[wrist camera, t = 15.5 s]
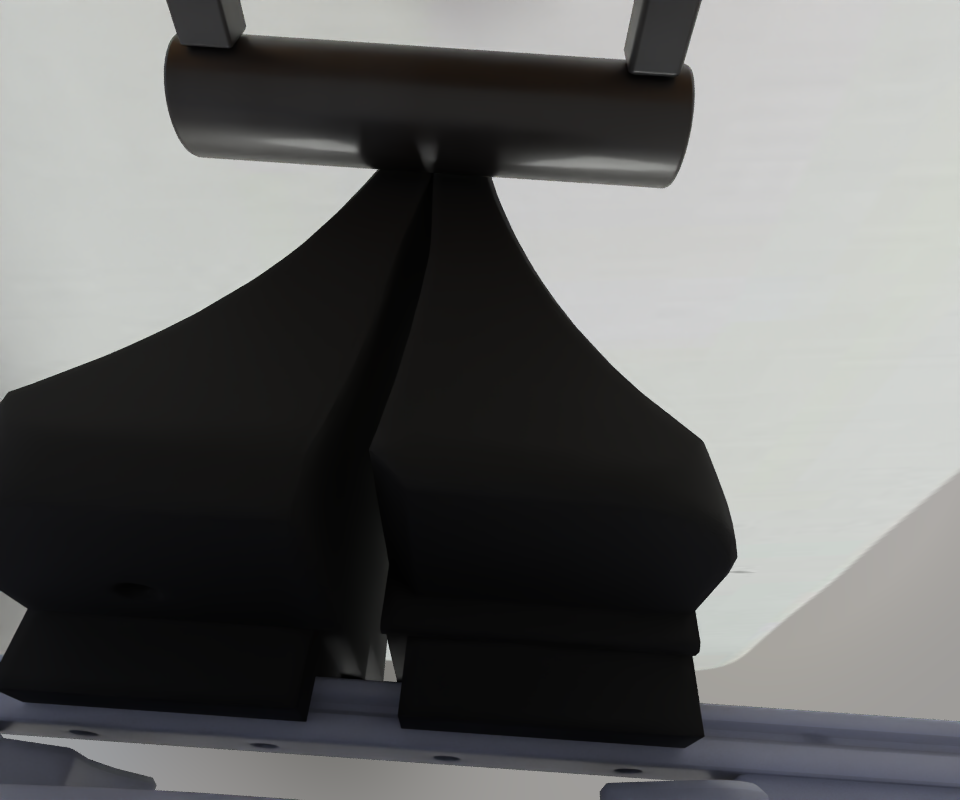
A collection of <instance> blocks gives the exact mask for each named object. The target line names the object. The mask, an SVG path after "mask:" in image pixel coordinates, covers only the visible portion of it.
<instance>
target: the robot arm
mask: <svg viewBox="0 0 960 800" xmlns="http://www.w3.org/2000/svg"><path fill="white" fill-rule="evenodd" d="M736 559H737V549H736V539H735V534H734V529H733V523H732V519H731V516H730V512H729V508H728V505H727V501H726V499H725V496H724V493H723V490H722V488H721V485H720V482H719V479H718V477H717V474H716V472H715V469H714V467H713V464H712V461H711V459H710V456H709V454H708V451H707V449H706V447H705V444H704V442H703V441H702V440H701V439H700V438H699V437H697V436H696V435H695V434H694V433H692V432H691V431H690V430H688V429H687V428H686V427H685V426H683V425H682V424H681V423H680V422H678V421H677V420H676V419H674V418H673V417H672V416H671V415H669V414H668V413H667V412H665V411H664V410H663V409H662V408H660V407H659V406H658V405H657V404H655V403H654V402H653V401H651V400H650V399H649V398H648V397H646V396H645V395H644V394H643V393H641V392H640V391H639V390H638V389H637V388H636V387H635V386H633V385H632V384H631V383H630V382H629V381H628V380H627V379H626V378H625V377H624V376H623V375H621V374H620V373H619V372H618V371H617V370H616V369H615V368H614V367H613V366H612V365H611V364H610V363H609V362H608V361H607V360H606V359H605V358H604V357H603V356H602V354H601V353H600V352H599V351H598V350H597V349H596V348H595V347H594V346H593V345H592V344H591V343H590V342H589V340H588V339H587V338H586V337H585V336H584V335H583V334H582V333H581V332H580V331H579V330H578V329H577V327H576V326H575V325H574V324H573V323H572V321H571V320H570V319H569V317H568V316H567V315H566V314H565V312H564V311H563V310H562V309H561V307H560V306H559V305H558V303H557V302H556V301H555V299H554V298H553V297H552V295H551V294H550V292H549V291H548V289H547V288H546V287H545V285H544V284H543V282H542V281H541V279H540V278H539V276H538V275H537V273H536V271H535V270H534V268H533V266H532V265H531V263H530V262H529V260H528V258H527V256H526V254H525V253H524V251H523V249H522V247H521V246H520V244H519V242H518V240H517V238H516V236H515V234H514V232H513V230H512V228H511V226H510V223H509V221H508V219H507V217H506V215H505V212H504V210H503V208H502V206H501V203H500V201H499V198H498V196H497V193H496V190H495V187H494V184H493V181H492V177H487V176H472V175H457V174H442V173H428V172H413V171H398V170H383V169H378V170H377V171H376V172H375V173H374V175H373V176H372V177H371V178H370V179H369V180H368V181H367V182H366V183H365V185H364V186H363V187H362V188H361V189H360V190H359V191H358V192H357V193H356V194H355V195H354V196H353V197H352V198H351V199H350V200H349V201H348V202H347V203H346V204H345V205H344V206H343V207H342V208H341V209H340V210H339V211H338V212H337V213H336V214H335V215H334V216H333V217H332V218H331V219H330V220H329V221H328V222H326V223H325V224H324V225H323V226H322V227H321V228H320V229H319V230H318V231H317V232H315V233H314V234H313V235H312V236H311V237H310V238H309V239H308V240H307V241H305V242H304V243H303V244H302V245H301V246H299V247H298V248H297V249H296V250H294V251H293V252H292V253H290V254H289V255H288V256H286V257H285V258H284V259H282V260H281V261H279V262H278V263H277V264H275V265H274V266H272V267H271V268H270V269H268V270H267V271H265V272H264V273H262V274H261V275H260V276H258V277H256V278H255V279H253V280H252V281H250V282H249V283H247V284H245V285H244V286H242V287H240V288H239V289H237V290H235V291H233V292H232V293H230V294H228V295H227V296H225V297H223V298H222V299H220V300H218V301H216V302H215V303H213V304H211V305H210V306H208V307H206V308H204V309H203V310H201V311H199V312H198V313H196V314H194V315H192V316H190V317H188V318H186V319H184V320H182V321H180V322H178V323H176V324H174V325H172V326H170V327H168V328H166V329H164V330H162V331H160V332H158V333H156V334H153V335H151V336H149V337H147V338H145V339H143V340H140V341H138V342H136V343H134V344H132V345H129V346H127V347H125V348H123V349H120V350H118V351H116V352H113V353H111V354H108V355H106V356H104V357H101V358H99V359H96V360H93V361H91V362H88V363H86V364H83V365H80V366H78V367H75V368H72V369H70V370H67V371H65V372H62V373H59V374H57V375H54V376H51V377H49V378H46V379H44V380H41V381H38V382H36V383H33V384H30V385H28V386H25V387H22V388H19V389H16V390H13V391H10V392H8V393H7V395H6V396H5V397H4V399H3V400H2V401H1V403H0V591H1V592H3V593H4V594H6V595H7V596H9V597H10V598H12V599H13V600H15V601H16V602H18V603H19V604H21V605H22V606H24V607H25V608H27V611H26V613H25V615H24V617H23V619H22V621H21V622H20V624H19V626H18V628H17V630H16V632H15V634H14V636H13V638H12V640H11V642H10V644H9V646H8V648H7V650H6V652H5V654H4V655H1V654H0V800H295V799H281V798H266V797H252V796H238V795H224V794H210V793H195V792H176V791H158V790H155V788H156V783H155V781H154V779H153V778H151V777H147V776H144V775H139V774H136V773H132V772H128V771H124V770H120V769H116V768H113V767H110V766H107V765H104V764H101V763H98V762H96V761H93V760H90V759H88V758H86V757H84V756H82V755H81V754H80V753H78V752H76V751H75V750H73V749H71V748H67V747H60V746H54V745H47V744H40V743H33V742H26V741H20V740H13V739H6V738H3V737H2V735H1V734H13V735H27V736H42V737H57V738H71V739H85V740H100V741H114V742H128V743H142V744H156V745H172V746H186V747H200V748H214V749H228V750H243V751H257V752H272V753H286V754H300V755H314V756H329V757H343V758H358V759H372V760H386V761H401V762H415V763H430V764H445V765H458V766H473V767H487V768H501V769H502V768H503V769H516V770H531V771H545V772H559V773H560V772H561V773H573V774H588V775H602V776H603V775H604V776H616V777H631V778H646V779H661V780H674V781H654V782H624V783H623V782H622V783H607V784H606V785H605V786H604V787H603V788H602V789H601V791H600V800H960V721H949V720H935V719H921V718H905V717H892V716H877V715H863V714H848V713H834V712H820V711H805V710H791V709H776V708H762V707H747V706H734V705H719V704H703V703H699V696H698V689H697V683H696V676H695V670H694V663H693V657H692V656H696V655H697V654H698V653H699V652H700V637H699V631H698V625H697V619H696V612H695V610H696V609H697V608H698V607H699V606H700V605H701V604H702V602H703V601H704V600H705V599H706V598H707V597H708V596H709V595H710V593H711V592H712V591H713V590H714V589H715V588H716V587H717V586H718V585H719V583H720V582H721V581H722V580H723V579H724V578H725V577H726V576H727V574H728V573H729V572H730V570H731V568H732V566H733V564H734V562H735V561H736ZM387 640H388V644H389V649H390V653H391V657H392V661H393V666H394V670H395V674H396V678H397V682H389V681H383V679H384V668H385V657H386V646H387Z"/></svg>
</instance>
